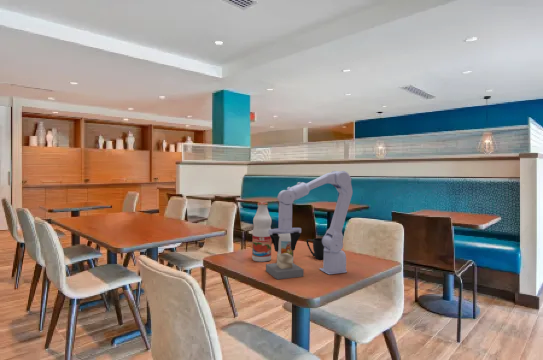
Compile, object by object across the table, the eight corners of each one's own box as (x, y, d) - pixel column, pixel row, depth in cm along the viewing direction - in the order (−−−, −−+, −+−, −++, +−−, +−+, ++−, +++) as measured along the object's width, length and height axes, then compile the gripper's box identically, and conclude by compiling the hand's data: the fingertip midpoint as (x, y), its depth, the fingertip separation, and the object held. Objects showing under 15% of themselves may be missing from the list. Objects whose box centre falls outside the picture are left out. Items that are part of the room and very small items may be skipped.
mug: (310, 254, 173) (310, 236, 172) (331, 257, 166) (332, 239, 166) (303, 257, 166) (303, 238, 166) (325, 261, 159) (325, 242, 159)
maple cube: (287, 264, 142) (287, 253, 142) (292, 267, 137) (292, 255, 137) (276, 265, 140) (277, 253, 140) (281, 268, 136) (281, 256, 135)
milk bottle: (274, 263, 155) (275, 221, 154) (280, 259, 162) (281, 218, 161) (290, 265, 152) (291, 222, 151) (295, 261, 159) (296, 220, 158)
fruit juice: (272, 257, 165) (273, 202, 164) (270, 262, 155) (271, 203, 155) (253, 256, 166) (254, 201, 165) (250, 261, 156) (251, 203, 156)
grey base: (290, 268, 147) (290, 261, 147) (303, 276, 136) (303, 269, 136) (265, 270, 142) (266, 264, 142) (277, 279, 131) (277, 272, 131)
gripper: (273, 220, 132) (272, 254, 132) (305, 219, 137) (304, 251, 138) (266, 218, 138) (266, 250, 139) (297, 216, 144) (296, 247, 144)
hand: (284, 250), depth 139 cm, fingers open, 7 cm apart
